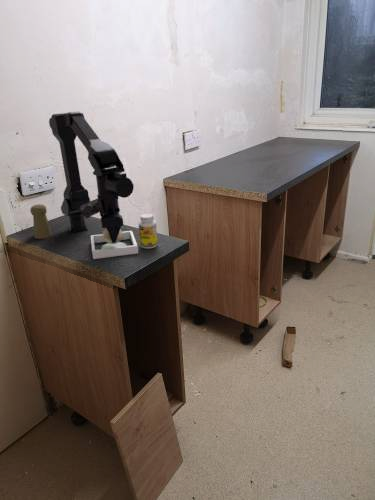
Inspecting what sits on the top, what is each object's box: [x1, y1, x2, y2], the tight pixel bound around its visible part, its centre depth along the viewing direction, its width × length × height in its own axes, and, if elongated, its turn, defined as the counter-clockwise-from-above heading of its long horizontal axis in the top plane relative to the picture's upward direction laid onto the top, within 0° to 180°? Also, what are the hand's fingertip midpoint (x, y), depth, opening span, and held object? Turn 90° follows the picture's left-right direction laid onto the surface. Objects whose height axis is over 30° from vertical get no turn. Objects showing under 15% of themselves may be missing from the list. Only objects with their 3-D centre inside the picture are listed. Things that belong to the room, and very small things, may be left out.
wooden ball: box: [102, 228, 123, 244], centre depth 125 cm, size 6×6×6 cm
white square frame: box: [90, 230, 139, 260], centre depth 127 cm, size 14×14×2 cm
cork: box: [30, 203, 53, 240], centre depth 137 cm, size 6×6×11 cm
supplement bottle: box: [138, 213, 158, 249], centre depth 126 cm, size 6×6×10 cm
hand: (113, 239), depth 126 cm, fingers closed on wooden ball, 6 cm apart
